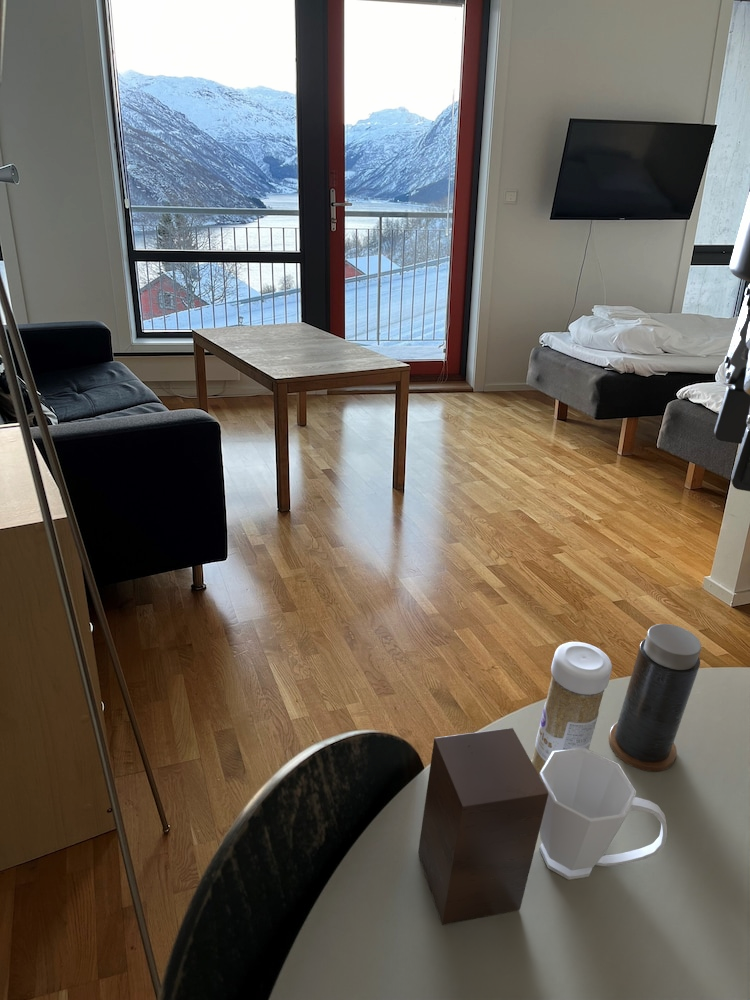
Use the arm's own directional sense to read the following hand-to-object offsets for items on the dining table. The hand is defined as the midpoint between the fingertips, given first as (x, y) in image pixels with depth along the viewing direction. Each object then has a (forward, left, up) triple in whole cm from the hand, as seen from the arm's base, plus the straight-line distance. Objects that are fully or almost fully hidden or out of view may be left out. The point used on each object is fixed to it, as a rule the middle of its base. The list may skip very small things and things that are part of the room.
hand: (738, 462), depth 48 cm
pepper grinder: (-5, -6, -32) cm, 32 cm away
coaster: (-5, -6, -32) cm, 33 cm away
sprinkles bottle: (+5, -4, -32) cm, 33 cm away
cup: (+6, +4, -32) cm, 33 cm away
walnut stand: (+16, +4, -32) cm, 36 cm away
